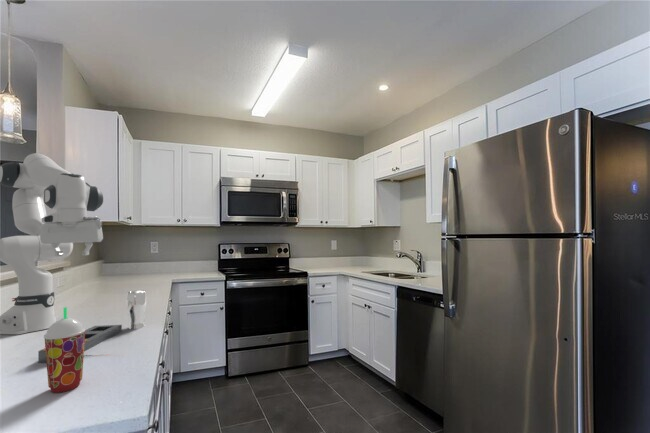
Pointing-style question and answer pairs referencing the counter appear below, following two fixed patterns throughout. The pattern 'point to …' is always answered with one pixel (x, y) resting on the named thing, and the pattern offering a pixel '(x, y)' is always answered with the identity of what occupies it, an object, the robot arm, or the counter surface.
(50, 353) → the smoothie
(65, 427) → the counter surface
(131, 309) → the beer glass
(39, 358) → the socket rail
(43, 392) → the counter surface
